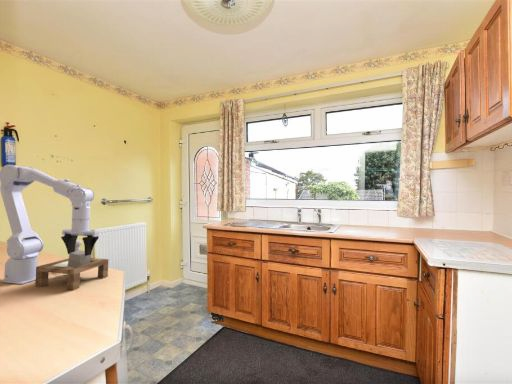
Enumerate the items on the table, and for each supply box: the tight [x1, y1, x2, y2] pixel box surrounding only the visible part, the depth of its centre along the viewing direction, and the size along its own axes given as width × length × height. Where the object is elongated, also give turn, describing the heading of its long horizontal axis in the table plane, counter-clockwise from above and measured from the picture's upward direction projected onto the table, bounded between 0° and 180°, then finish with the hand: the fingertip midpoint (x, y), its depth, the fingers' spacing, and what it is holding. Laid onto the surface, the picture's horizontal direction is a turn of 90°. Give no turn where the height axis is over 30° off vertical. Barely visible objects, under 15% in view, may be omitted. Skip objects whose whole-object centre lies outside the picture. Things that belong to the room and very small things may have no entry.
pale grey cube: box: [68, 249, 93, 268], centre depth 97 cm, size 5×5×5 cm
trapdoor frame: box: [34, 257, 109, 291], centre depth 97 cm, size 16×16×7 cm
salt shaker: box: [75, 239, 83, 252], centre depth 111 cm, size 6×6×13 cm
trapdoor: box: [51, 261, 73, 268], centre depth 97 cm, size 10×10×1 cm
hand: (79, 254), depth 97 cm, fingers open, 7 cm apart
